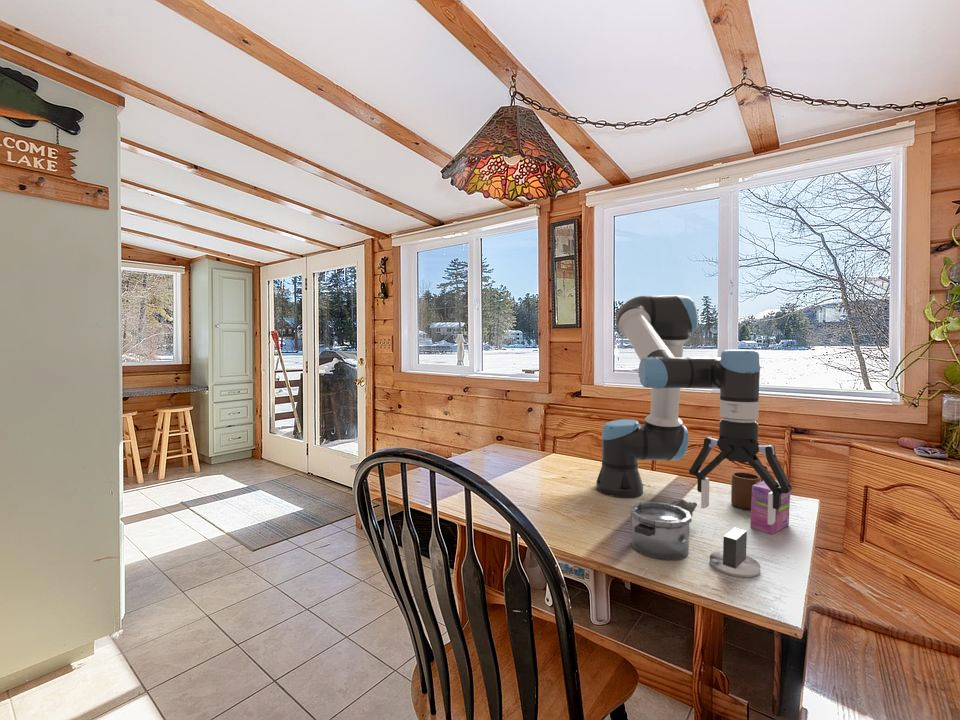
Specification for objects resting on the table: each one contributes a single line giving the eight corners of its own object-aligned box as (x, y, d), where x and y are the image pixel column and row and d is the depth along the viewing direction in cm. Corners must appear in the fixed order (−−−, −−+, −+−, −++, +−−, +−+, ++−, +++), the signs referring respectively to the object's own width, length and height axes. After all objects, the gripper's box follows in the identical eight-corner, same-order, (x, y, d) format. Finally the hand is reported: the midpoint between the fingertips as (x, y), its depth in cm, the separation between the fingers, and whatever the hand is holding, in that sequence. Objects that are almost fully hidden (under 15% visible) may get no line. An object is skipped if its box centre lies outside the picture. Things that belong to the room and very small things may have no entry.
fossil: (678, 516, 136) (679, 488, 136) (705, 527, 128) (706, 498, 128) (649, 522, 131) (650, 494, 131) (675, 535, 123) (676, 504, 123)
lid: (702, 567, 106) (703, 533, 106) (719, 552, 113) (719, 521, 113) (751, 583, 99) (753, 547, 99) (766, 567, 106) (767, 533, 106)
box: (772, 535, 123) (774, 490, 123) (749, 527, 128) (751, 484, 127) (789, 525, 129) (791, 483, 129) (767, 519, 134) (768, 478, 133)
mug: (777, 515, 137) (778, 483, 136) (754, 517, 135) (755, 484, 135) (746, 501, 148) (747, 471, 148) (725, 502, 147) (726, 472, 147)
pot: (614, 550, 114) (615, 514, 114) (650, 529, 127) (651, 496, 126) (670, 570, 104) (671, 530, 104) (702, 545, 117) (703, 509, 117)
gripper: (675, 415, 111) (673, 504, 112) (801, 429, 93) (798, 535, 94) (688, 411, 116) (687, 497, 117) (810, 424, 98) (807, 525, 99)
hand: (736, 514), depth 105 cm, fingers open, 13 cm apart
